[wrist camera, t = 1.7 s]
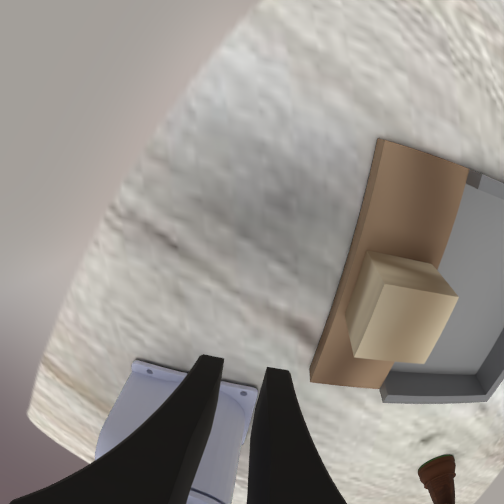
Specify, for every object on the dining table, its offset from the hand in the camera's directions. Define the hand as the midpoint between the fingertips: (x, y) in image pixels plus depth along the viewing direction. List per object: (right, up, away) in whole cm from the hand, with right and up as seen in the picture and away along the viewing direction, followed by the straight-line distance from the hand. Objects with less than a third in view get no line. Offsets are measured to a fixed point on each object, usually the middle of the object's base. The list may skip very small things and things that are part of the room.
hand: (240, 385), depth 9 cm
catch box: (+15, +1, +8) cm, 17 cm away
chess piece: (+22, -21, +17) cm, 34 cm away
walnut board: (+8, +2, +8) cm, 12 cm away
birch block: (+8, +2, +7) cm, 11 cm away
